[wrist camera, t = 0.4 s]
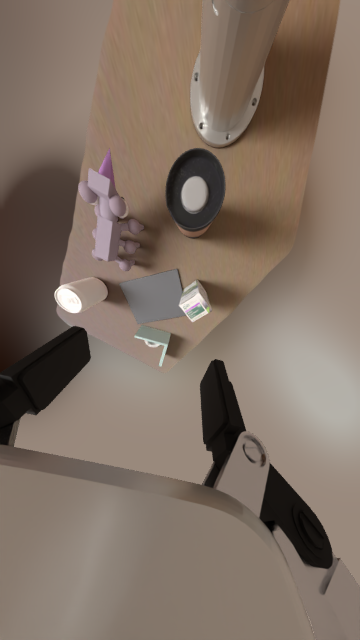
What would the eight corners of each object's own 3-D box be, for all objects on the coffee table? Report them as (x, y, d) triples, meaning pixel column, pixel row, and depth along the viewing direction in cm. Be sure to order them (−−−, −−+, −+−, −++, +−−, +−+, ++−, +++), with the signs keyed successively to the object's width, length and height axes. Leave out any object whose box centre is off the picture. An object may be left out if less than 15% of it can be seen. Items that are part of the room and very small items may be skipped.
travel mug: (212, 206, 31) (237, 154, 14) (203, 242, 35) (214, 236, 18) (182, 199, 31) (169, 137, 14) (176, 236, 35) (160, 223, 18)
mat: (119, 283, 43) (119, 283, 42) (177, 268, 39) (177, 269, 39) (138, 323, 50) (137, 323, 50) (188, 314, 46) (188, 315, 46)
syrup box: (192, 302, 44) (193, 324, 31) (182, 289, 42) (178, 306, 29) (207, 293, 42) (213, 312, 29) (197, 278, 40) (199, 291, 27)
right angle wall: (142, 324, 51) (134, 335, 44) (171, 332, 52) (167, 344, 45) (139, 346, 57) (132, 358, 50) (164, 353, 58) (161, 366, 51)
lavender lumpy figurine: (112, 167, 29) (64, 116, 18) (156, 191, 31) (139, 160, 20) (103, 255, 39) (68, 260, 27) (137, 270, 41) (117, 281, 29)
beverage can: (81, 277, 43) (46, 286, 33) (104, 276, 42) (75, 285, 32) (91, 299, 47) (62, 314, 36) (111, 299, 46) (88, 314, 36)
